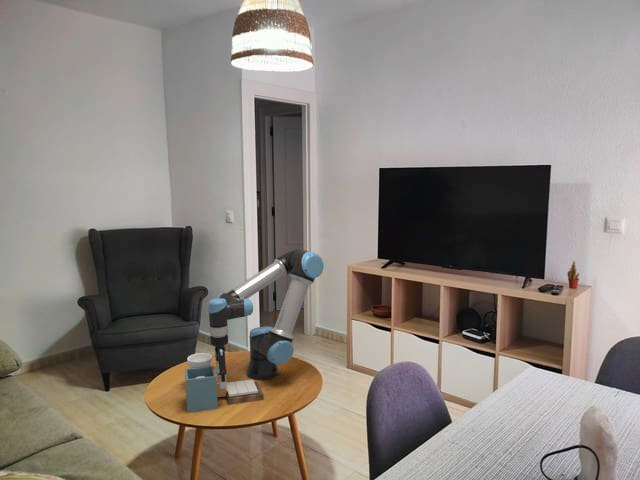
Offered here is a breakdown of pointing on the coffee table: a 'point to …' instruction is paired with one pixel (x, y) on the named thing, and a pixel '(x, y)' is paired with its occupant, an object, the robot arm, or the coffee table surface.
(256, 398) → the board
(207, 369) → the tub
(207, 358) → the cup
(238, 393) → the lid
